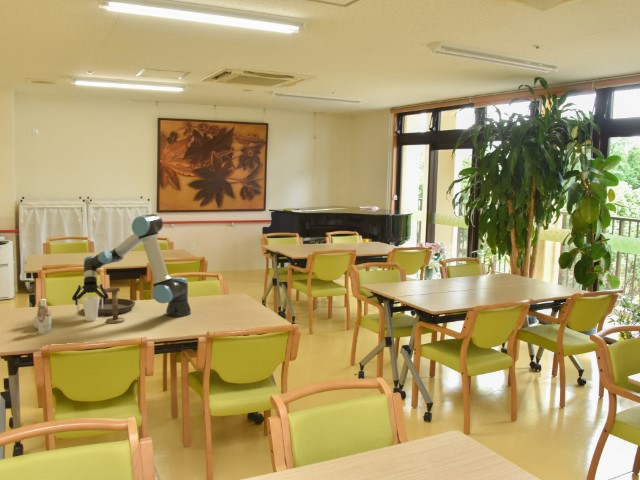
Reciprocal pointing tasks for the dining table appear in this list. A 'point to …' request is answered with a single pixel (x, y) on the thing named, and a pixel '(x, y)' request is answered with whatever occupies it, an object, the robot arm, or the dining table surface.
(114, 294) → the walnut post
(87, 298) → the foam cup
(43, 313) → the cosmetic set
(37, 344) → the dining table surface
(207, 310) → the dining table surface
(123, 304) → the plant saucer
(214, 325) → the dining table surface
